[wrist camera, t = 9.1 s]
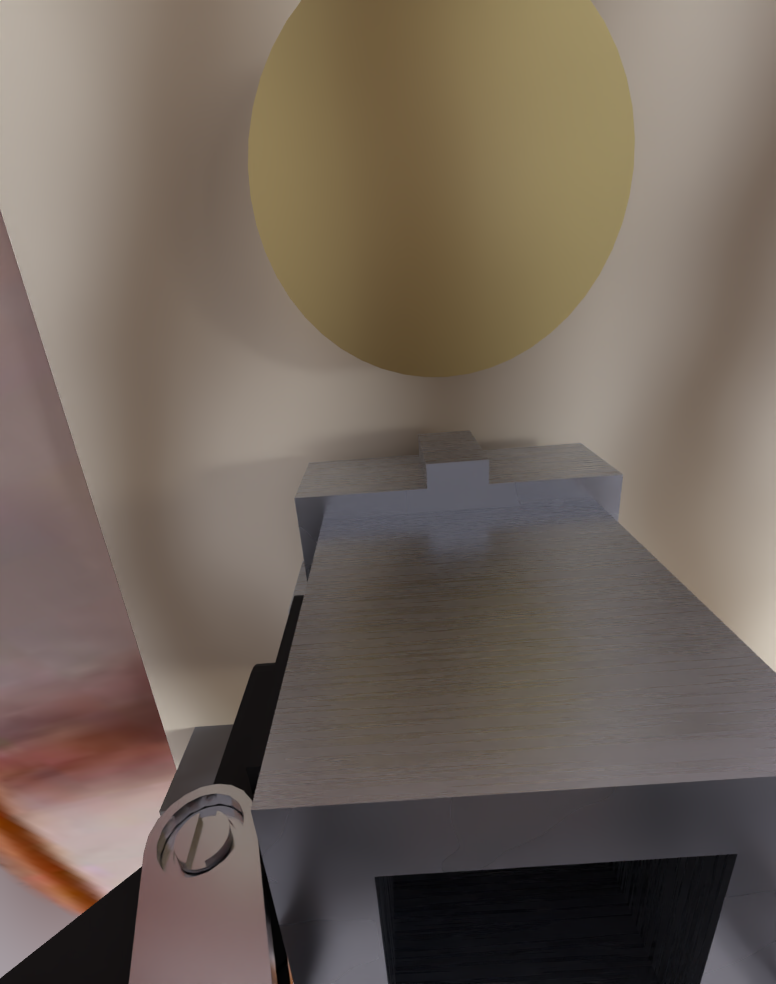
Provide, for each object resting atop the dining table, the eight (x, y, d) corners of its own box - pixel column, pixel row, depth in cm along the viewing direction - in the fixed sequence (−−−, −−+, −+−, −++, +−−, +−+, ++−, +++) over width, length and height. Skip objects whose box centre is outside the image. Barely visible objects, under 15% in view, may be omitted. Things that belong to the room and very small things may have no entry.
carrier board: (1011, -333, 9) (2310, -1619, 3) (749, 698, 18) (938, 905, 12) (-87, -237, 9) (-991, -1271, 3) (193, 736, 18) (100, 960, 12)
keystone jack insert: (604, 420, 12) (1044, 668, 4) (580, 673, 14) (811, 1110, 7) (285, 443, 12) (104, 731, 4) (322, 691, 14) (258, 1143, 7)
